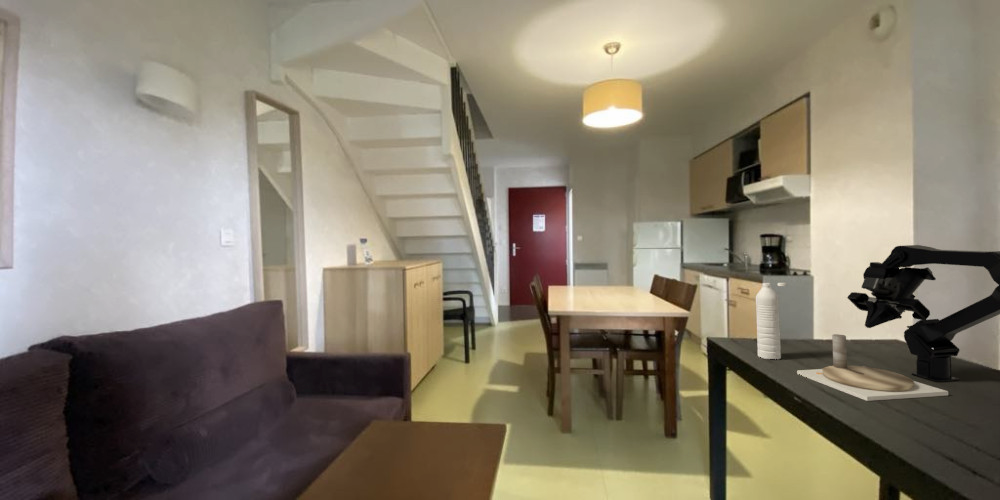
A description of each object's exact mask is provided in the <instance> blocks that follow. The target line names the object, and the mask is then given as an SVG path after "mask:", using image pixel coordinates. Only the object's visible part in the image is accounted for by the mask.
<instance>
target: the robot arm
mask: <svg viewBox="0 0 1000 500" xmlns="http://www.w3.org/2000/svg"><path fill="white" fill-rule="evenodd" d="M932 264H933V265H935V264H936V265H948V266H949V265H951V266H966V267H967V266H968V267H983V268H984V269H985V270H987V272H988V273H989V275H990V277H991V279H992V281H994V282H995V283H996V284H997V286H996V287H995V288H994V289H993V291H992V292H991V294H990V295H988V296H987V297H984V298H982V299H980V300H978V301H976V302H974V303H972V304H970V305H968V306H965V307H964V308H962V309H960V310H958V311H956V312H954V313H951V314H949V315H947V316H945V317H943V318H941V319H939V318H932V319H931V318H930V319H928V318H929V317H930V316H931V312H930V310H929V308H927V307H926V305H925V304H923V302H921V301H920V300H919V299H917V298H916V296H915V295H914V293H915V292H916V291H917V289H918V288H919V287H920V286H921V285H922V284H923V283H924V282H925V281H926V280H928V281H936V277H935V275H934V274H933V271H932V270H931V269H930V268H929V267H924V268H918V267H913V266H922V265H932ZM861 289H863V290H868V291H870V294H871V296H869V295H868V294H867V293H865V292H856V291H853V292H852V291H851V292H850V294H848V296H847V297H846V298H847V299H848V300H849V301H850V302H851V303H852V305H854V307H856V308H857V309H858V310H859V311H864V312H867V313H866V319H865V322H864V323H865V324H864V327H865V328H867V329H871V328H875V327H876V326H880V325H882V324H885V323H888V322H891V321H894V320H898V319H900V320H901V319H902V317H903V316H902V315H903V313H906V311H908V312H913V313H912V314H911V315H912V317H913V318H914V319H913V320H917V321H916V322H915V323H914V324H912V325H907V326H906V329H905V330H904V332H903V337H904V341H905V343H906V345H907V348H908V349H909V353H910V354H911V355H913V356H916V360H915V361H916V364H915V365H916V371H915V372H911V376H914V377H915V376H916V377H919V378H923V379H926V380H930V381H933V382H937V383H938V382H939V383H940V382H941V383H942V382H953V381H954V382H956V381H959V380H960V379H959V377H955V376H952V357H958V355H959V353H960V350H961V349H960V348H959V347H958V346H957V345H956V344H955V343H954V342H952V341H953V339H954V338H955V336H956V335H957V334H959V333H961V332H963V331H966V330H967V329H970V328H972V327H975V326H976V325H979V324H981V323H983V322H985V321H987V320H990V319H992V318H994V317H997V316H998V315H1000V250H999V251H998V250H997V251H995V250H994V251H986V250H985V251H981V250H957V249H956V250H952V249H951V250H950V249H939V248H938V249H937V248H935V247H932V246H927V245H926V246H925V245H921V244H914V245H913V244H911V245H908V244H906V245H897V246H895V247H893V249H892V250H891V251H890V254H889V255H888V256H887V257H886V259H884V260H883V261H882V262H879V261H874V262H872V261H871V262H869V266H868V267H866V268H865V270H864V272H863V282H862V284H861Z"/></svg>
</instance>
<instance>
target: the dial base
mask: <svg viewBox="0 0 1000 500" xmlns="http://www.w3.org/2000/svg"><path fill="white" fill-rule="evenodd" d="M862 367H866V366H862ZM796 373H797V375H799V374H800V375H799V376H801V375H802V377H804V378H806V377H807V379H809V380H812V381H815V382H817V383H820V384H822V385H825V386H828V387H830V388H832V389H835V390H838V391H841V392H842V393H846V394H848V395H851V396H854V397H856V398H859V399H862V400H863V401H866V402H867V401H868V402H870V401H884V400H885V401H886V400H903V399H915V398H930V397H932V398H933V397H945V396H946V397H947V396H949V391H948V390H945V389H941V388H938V387H936V386H935V387H934V386H931V385H929V384H925V383H921V382H918V381H915V380H913V381H914V387H913V388H912V389H909V390H903V391H885V390H874V389H866V388H860V387H855V386H850V385H846V384H842V383H839V382H836V381H833V380H830V379H828V378H827V377H825V376H824V375H823V368H818V369H804V370H803V369H800V370H799V369H798V370H797V371H796Z"/></svg>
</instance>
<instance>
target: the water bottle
mask: <svg viewBox="0 0 1000 500" xmlns="http://www.w3.org/2000/svg"><path fill="white" fill-rule="evenodd" d="M787 285H788V284H787V282H777V286H778V287H787ZM761 286H762V287H761V289H759V291H758V292H757V294H756V295H755V306H756V307H755V309H756V310H755V311H756V312H755V313H756V341H757V345H756V346H757V356H758V358H760V357H761V358H760V359H764V360H770V359H775V360H776V359H777V360H780V359H781V358H782V351H781V334H780V333H781V329H780V326H781V325H780V323H781V321H780V306H779V305H780V298H779V296H778V294H777V293H776V292H775V290H774V289H773V288H772V284H771V282H762V285H761Z"/></svg>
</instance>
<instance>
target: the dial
mask: <svg viewBox="0 0 1000 500" xmlns="http://www.w3.org/2000/svg"><path fill="white" fill-rule="evenodd" d="M831 336H832V361H833V362H832V365H828V366H825V367H823V368H822V369H823V375H824V376H825V377H827V378H828V379H830V380H833V381H836V382H839V383H842V384H846V385H850V386H855V387H860V388H866V389H874V390H885V391H903V390H909V389H912V388H913V387H914V381H915V380H913V379H912V378H910V377H908V376H906V375H903V374H900V373H898V372H893V371H890V370H887V369H880V368H874V367H868V366H865V367H862V366H860V365H848V359H847V358H848V357H847V356H848V355H847V336H846V335H844V334H838V333H836V334H835V333H834V334H832V335H831Z"/></svg>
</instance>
